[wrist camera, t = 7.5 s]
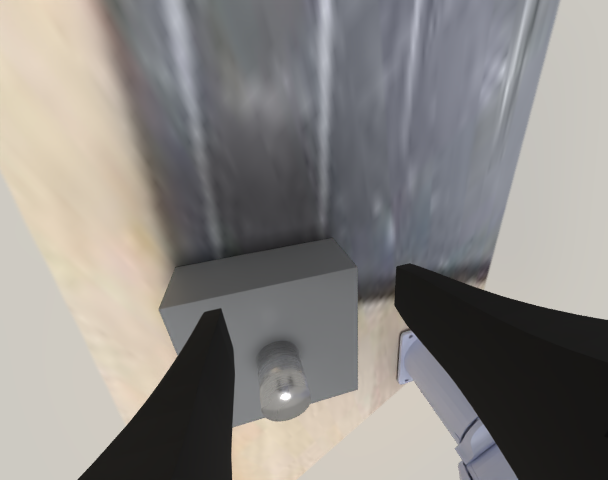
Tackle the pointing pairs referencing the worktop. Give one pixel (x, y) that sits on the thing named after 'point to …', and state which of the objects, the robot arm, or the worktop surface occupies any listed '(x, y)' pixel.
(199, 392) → the robot arm
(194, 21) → the worktop surface
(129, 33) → the worktop surface
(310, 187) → the worktop surface
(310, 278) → the cover
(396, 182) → the worktop surface
